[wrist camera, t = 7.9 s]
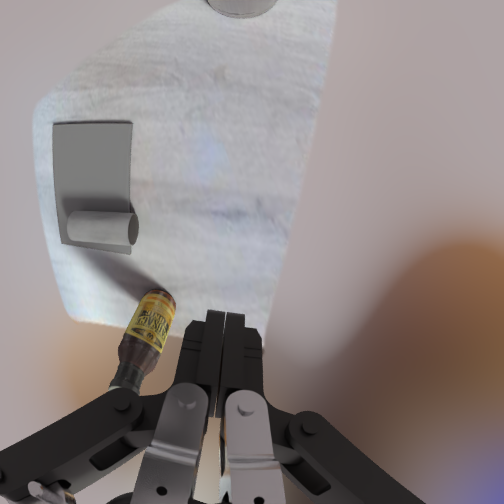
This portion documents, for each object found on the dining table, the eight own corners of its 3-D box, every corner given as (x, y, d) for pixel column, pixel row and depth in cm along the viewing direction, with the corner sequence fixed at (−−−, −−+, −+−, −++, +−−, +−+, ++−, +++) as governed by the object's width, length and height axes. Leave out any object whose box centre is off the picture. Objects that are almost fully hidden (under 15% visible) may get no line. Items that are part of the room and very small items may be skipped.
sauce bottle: (184, 301, 48) (158, 401, 31) (166, 320, 50) (139, 414, 33) (151, 279, 46) (111, 376, 29) (135, 301, 48) (97, 392, 31)
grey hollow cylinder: (139, 210, 40) (80, 207, 39) (127, 217, 35) (65, 214, 35) (139, 240, 41) (82, 235, 40) (128, 250, 37) (67, 244, 36)
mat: (55, 124, 32) (52, 125, 32) (132, 123, 33) (131, 123, 33) (63, 241, 42) (61, 243, 42) (131, 252, 43) (130, 254, 43)
